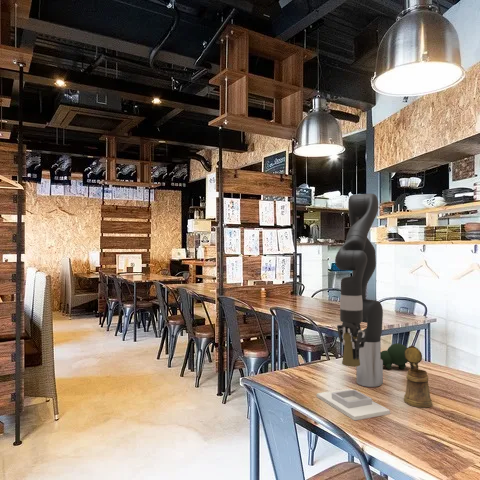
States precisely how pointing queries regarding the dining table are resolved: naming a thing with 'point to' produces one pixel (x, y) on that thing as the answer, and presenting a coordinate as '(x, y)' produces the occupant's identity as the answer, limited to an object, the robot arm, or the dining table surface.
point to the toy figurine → (394, 356)
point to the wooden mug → (416, 381)
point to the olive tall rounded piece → (349, 352)
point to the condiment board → (353, 404)
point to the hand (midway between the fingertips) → (351, 357)
